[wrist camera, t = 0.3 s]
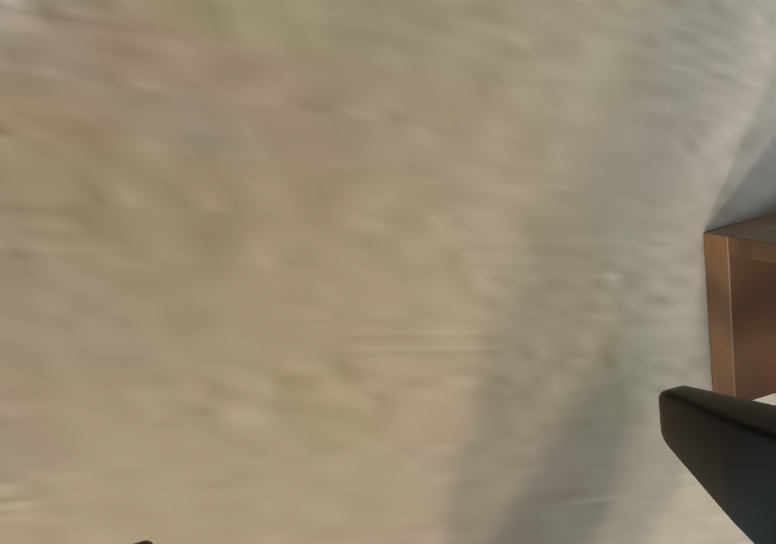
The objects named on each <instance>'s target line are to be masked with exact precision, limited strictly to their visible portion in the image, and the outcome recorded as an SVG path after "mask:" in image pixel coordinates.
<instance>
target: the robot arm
mask: <svg viewBox="0 0 776 544" xmlns="http://www.w3.org/2000/svg"><path fill="white" fill-rule="evenodd" d="M659 410H660V423H661V432H662V435H663V438H664V440H665V442H666V443H667V445H668V446H669V447H670V449H671V450H672V451H673V452H674V453H675V454H676V456H677V457H678V458H679V459H680V460H681V461H682V463H683V464H684V465H685V466H686V467H687V468H688V470H689V471H690V472H691V473H692V474H693V476H694V477H695V478H696V479H697V480H698V481H699V483H700V484H701V485H702V486H703V487H704V488H705V490H706V491H707V492H708V493H709V494H710V495H711V497H712V498H713V499H714V500H715V501H716V502H717V504H718V505H719V506H720V507H721V508H722V510H723V511H724V512H725V513H726V514H727V515H728V516H729V517H730V518H731V520H732V521H733V522H734V523H735V524H736V525H737V526H738V527H739V528H740V529H741V530H742V531H743V532H744V533H745V534H746V535H747V536H748V537H749V539H750V540H751V541H752V542H753V543H754V544H776V406H774V405H770V404H765V403H761V402H756V401H752V400H747V399H743V398H738V397H734V396H729V395H725V394H720V393H716V392H711V391H707V390H702V389H698V388H693V387H689V386H678V387H675V388H671V389H668V390H664V391H663V392H661V393H660V396H659ZM134 544H153V543H152V542H151V541H147V540H145V541H141V542H138V543H134Z"/></svg>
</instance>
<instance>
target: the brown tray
mask: <svg viewBox="0 0 776 544" xmlns="http://www.w3.org/2000/svg"><path fill="white" fill-rule="evenodd" d="M704 248H705V264H706V281H707V298H708V315H709V331H710V348H711V365H712V382H713V392H716V393H720V394H725V395H729V396H734V397H738V398H743V399H747V400H754V399H757V398H761V397H764V396H767V395H770V394H774V393H776V213H775V214H771V215H767V216H764V217H760V218H757V219H753V220H749V221H746V222H742V223H738V224H735V225H731V226H727V227H724V228H720V229H716V230H713V231H709V232H706V233H704Z"/></svg>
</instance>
